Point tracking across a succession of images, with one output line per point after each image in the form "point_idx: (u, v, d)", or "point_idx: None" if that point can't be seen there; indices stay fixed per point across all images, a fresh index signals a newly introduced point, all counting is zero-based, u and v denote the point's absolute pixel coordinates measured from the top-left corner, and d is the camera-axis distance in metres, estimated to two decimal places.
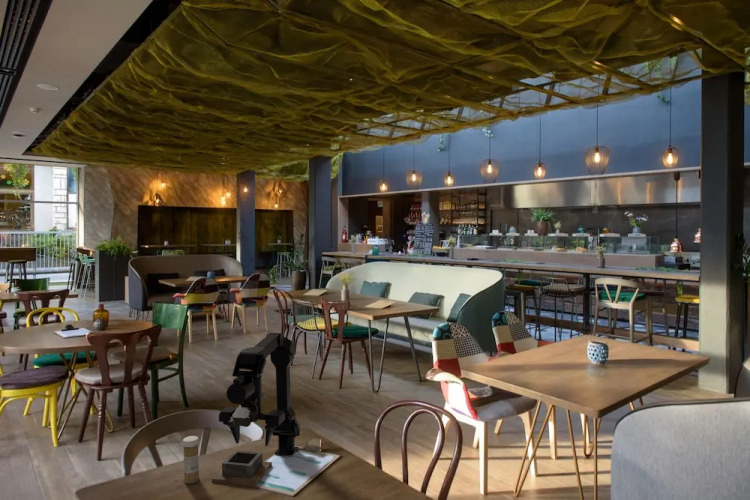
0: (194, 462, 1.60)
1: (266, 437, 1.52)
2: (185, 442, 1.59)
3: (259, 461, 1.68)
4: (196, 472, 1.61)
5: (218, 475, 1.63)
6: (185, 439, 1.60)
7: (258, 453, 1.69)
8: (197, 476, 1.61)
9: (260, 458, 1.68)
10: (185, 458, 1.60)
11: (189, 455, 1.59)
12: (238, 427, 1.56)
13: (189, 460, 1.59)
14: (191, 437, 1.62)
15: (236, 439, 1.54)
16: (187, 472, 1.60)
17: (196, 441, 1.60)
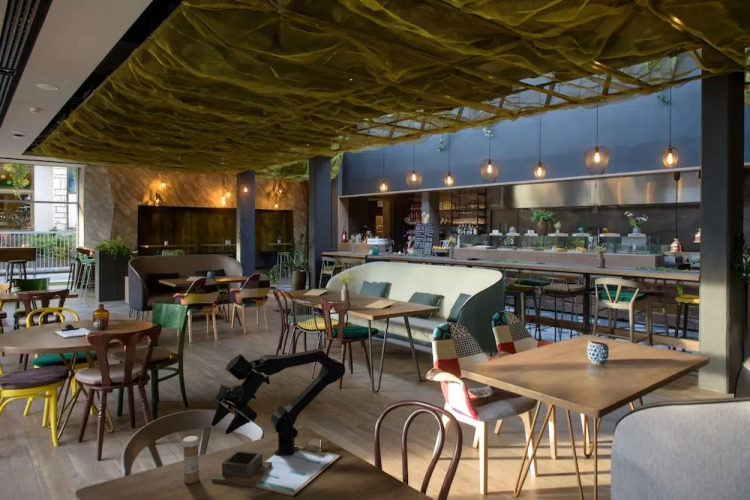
0: (194, 462, 1.60)
1: (230, 424, 1.65)
2: (185, 442, 1.59)
3: (259, 461, 1.68)
4: (196, 472, 1.61)
5: (218, 475, 1.63)
6: (185, 439, 1.60)
7: (258, 453, 1.69)
8: (197, 476, 1.61)
9: (260, 458, 1.68)
10: (185, 458, 1.60)
11: (189, 455, 1.59)
12: (222, 416, 1.73)
13: (189, 460, 1.59)
14: (191, 437, 1.62)
15: (213, 420, 1.71)
16: (187, 472, 1.60)
17: (196, 441, 1.60)
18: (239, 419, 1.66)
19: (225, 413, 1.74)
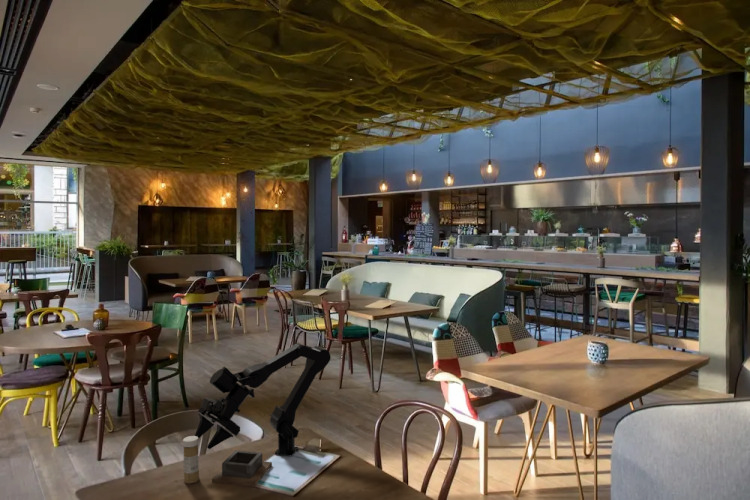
0: (194, 462, 1.60)
1: (212, 438, 1.61)
2: (185, 442, 1.59)
3: (259, 461, 1.68)
4: (196, 472, 1.61)
5: (218, 475, 1.63)
6: (185, 439, 1.60)
7: (258, 453, 1.69)
8: (197, 476, 1.61)
9: (260, 458, 1.68)
10: (185, 458, 1.60)
11: (189, 455, 1.59)
12: (205, 429, 1.70)
13: (189, 460, 1.59)
14: (191, 437, 1.62)
15: (196, 434, 1.68)
16: (187, 472, 1.60)
17: (196, 441, 1.60)
18: (222, 433, 1.62)
19: (208, 426, 1.71)
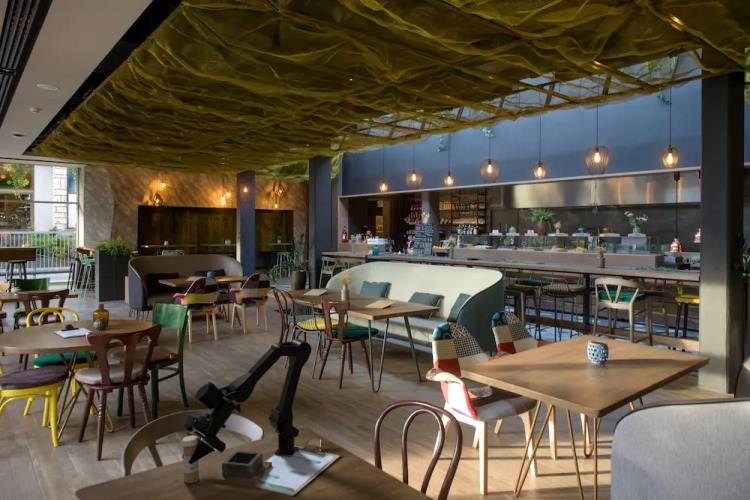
0: None
1: (194, 453, 1.59)
2: (185, 442, 1.59)
3: (259, 461, 1.68)
4: (196, 472, 1.61)
5: (218, 475, 1.63)
6: (184, 439, 1.61)
7: (258, 453, 1.69)
8: (197, 476, 1.61)
9: (260, 458, 1.68)
10: (185, 458, 1.60)
11: (189, 454, 1.59)
12: None
13: None
14: (190, 437, 1.62)
15: None
16: (186, 472, 1.60)
17: (196, 440, 1.60)
18: (203, 448, 1.61)
19: None
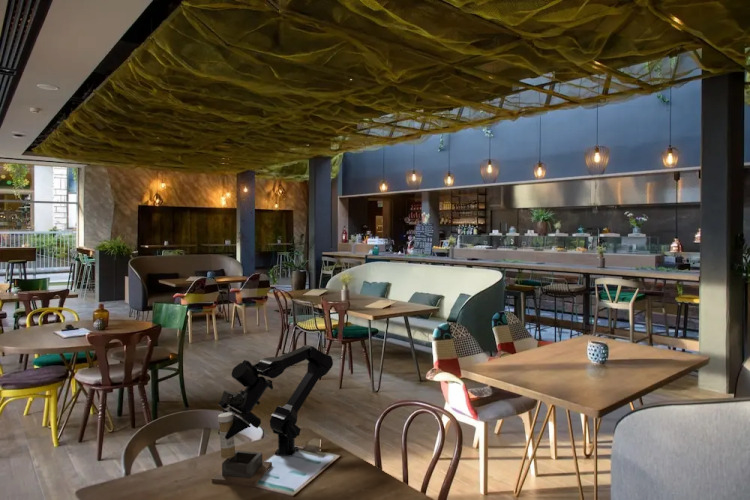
0: None
1: (230, 429, 1.62)
2: (220, 417, 1.62)
3: (259, 461, 1.68)
4: (232, 447, 1.64)
5: (218, 475, 1.63)
6: (220, 415, 1.64)
7: (258, 453, 1.69)
8: (233, 451, 1.64)
9: (260, 458, 1.68)
10: (221, 433, 1.63)
11: (225, 430, 1.62)
12: None
13: None
14: (226, 413, 1.65)
15: None
16: (223, 448, 1.63)
17: (231, 416, 1.63)
18: (239, 424, 1.64)
19: None
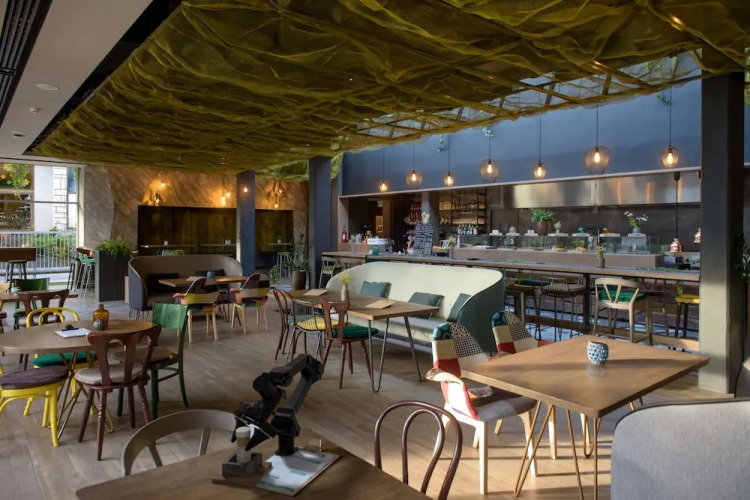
0: (247, 452, 1.64)
1: None
2: (238, 433, 1.63)
3: (259, 461, 1.68)
4: (249, 462, 1.65)
5: (218, 475, 1.63)
6: (238, 430, 1.64)
7: (258, 453, 1.69)
8: None
9: (260, 458, 1.68)
10: (238, 448, 1.64)
11: (242, 445, 1.63)
12: None
13: (242, 451, 1.63)
14: (243, 428, 1.66)
15: (233, 437, 1.68)
16: (240, 462, 1.64)
17: (249, 432, 1.64)
18: (259, 436, 1.63)
19: None
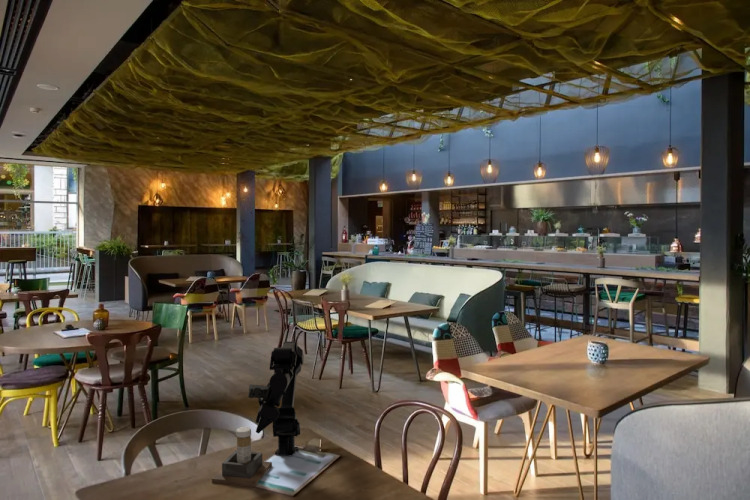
0: (247, 452, 1.64)
1: (258, 423, 1.68)
2: (239, 432, 1.63)
3: (259, 461, 1.68)
4: (249, 462, 1.65)
5: (218, 475, 1.63)
6: (238, 430, 1.65)
7: (258, 453, 1.69)
8: None
9: (260, 458, 1.68)
10: (239, 448, 1.64)
11: (243, 445, 1.63)
12: None
13: (242, 450, 1.64)
14: (244, 428, 1.66)
15: None
16: (240, 462, 1.64)
17: (249, 432, 1.65)
18: (265, 418, 1.67)
19: None
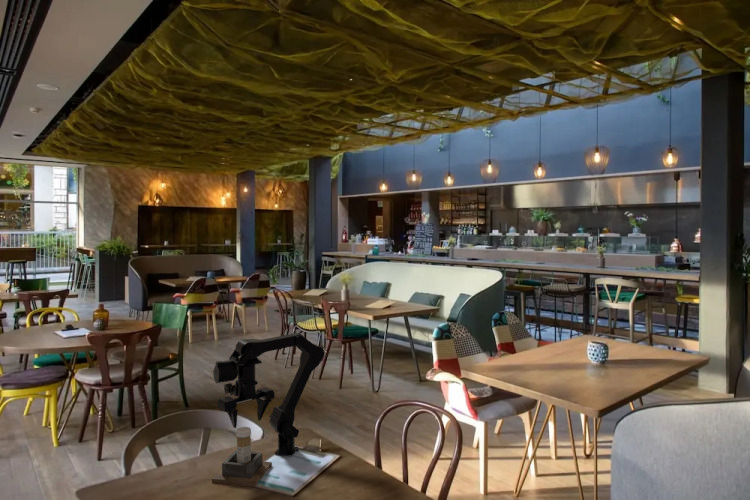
0: (247, 452, 1.64)
1: None
2: (239, 433, 1.63)
3: (259, 461, 1.68)
4: (249, 462, 1.65)
5: (218, 475, 1.63)
6: (238, 430, 1.65)
7: (258, 453, 1.69)
8: None
9: (260, 458, 1.68)
10: (238, 448, 1.64)
11: (243, 445, 1.63)
12: (261, 409, 1.76)
13: (242, 451, 1.63)
14: (244, 428, 1.66)
15: None
16: (240, 462, 1.64)
17: (249, 432, 1.64)
18: None
19: (262, 405, 1.76)
